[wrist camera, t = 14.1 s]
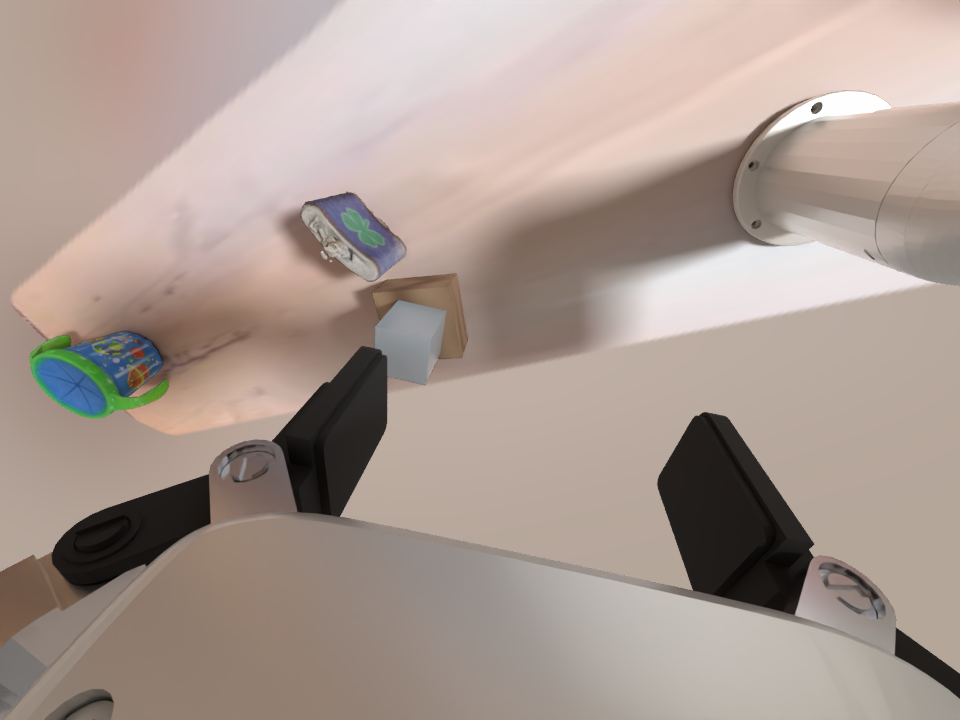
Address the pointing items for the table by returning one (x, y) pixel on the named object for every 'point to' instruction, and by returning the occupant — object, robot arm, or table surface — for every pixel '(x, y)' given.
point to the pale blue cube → (410, 340)
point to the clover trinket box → (353, 235)
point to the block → (429, 305)
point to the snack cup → (97, 373)
